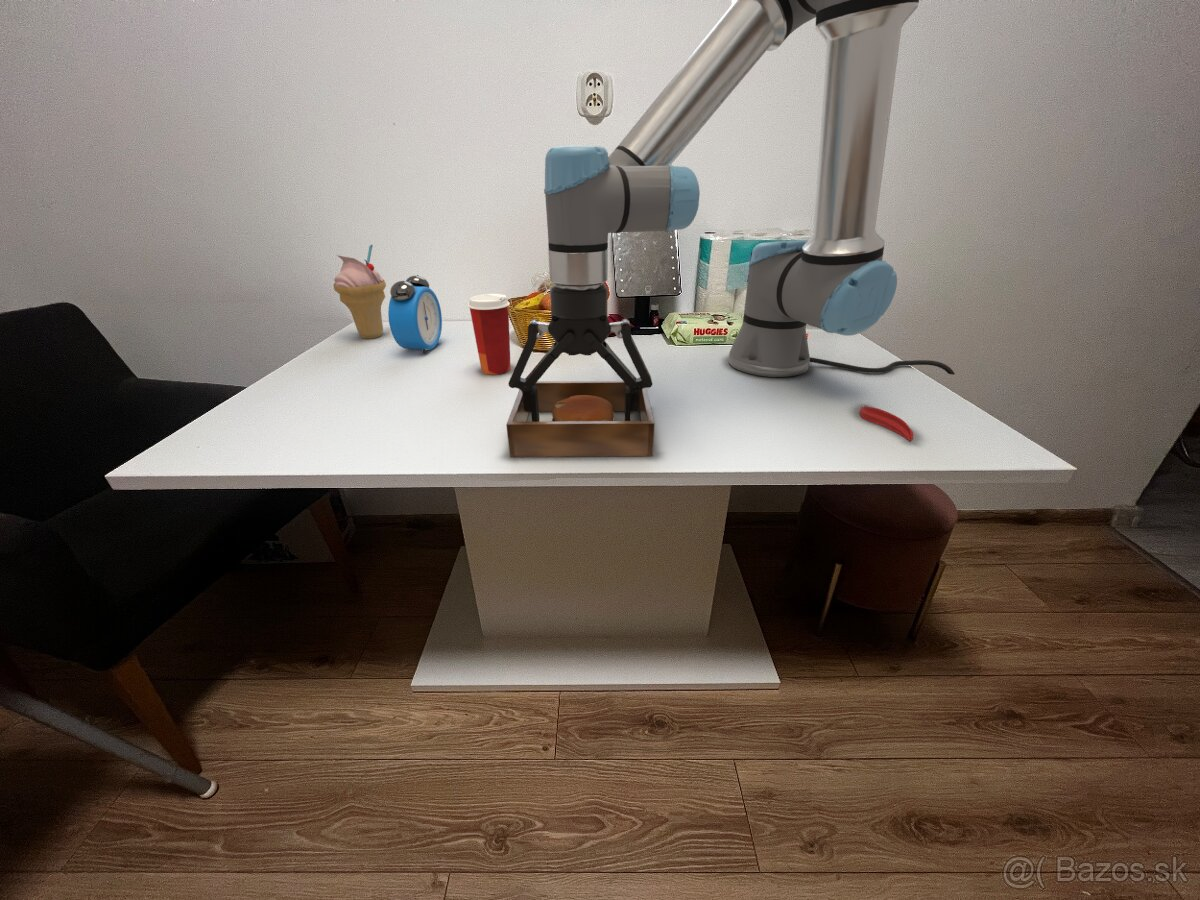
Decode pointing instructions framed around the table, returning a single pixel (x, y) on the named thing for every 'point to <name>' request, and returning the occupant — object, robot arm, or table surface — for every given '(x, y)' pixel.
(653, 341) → the table surface
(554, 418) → the burger
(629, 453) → the wooden box
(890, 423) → the cayenne pepper
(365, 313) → the ice cream cone
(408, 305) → the alarm clock
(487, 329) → the paper cup
